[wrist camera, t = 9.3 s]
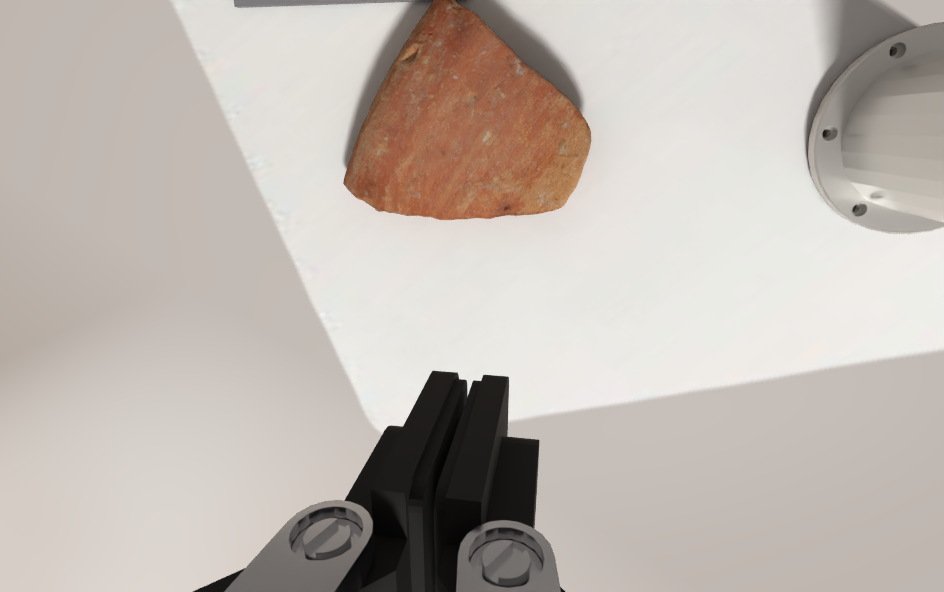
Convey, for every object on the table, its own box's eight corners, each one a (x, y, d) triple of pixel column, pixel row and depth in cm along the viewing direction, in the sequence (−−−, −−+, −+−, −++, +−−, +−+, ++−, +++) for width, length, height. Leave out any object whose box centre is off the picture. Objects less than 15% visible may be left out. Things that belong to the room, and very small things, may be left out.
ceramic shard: (490, 304, 36) (325, 182, 37) (516, 277, 42) (371, 172, 43) (621, 116, 29) (412, -26, 31) (631, 113, 35) (454, -6, 36)
